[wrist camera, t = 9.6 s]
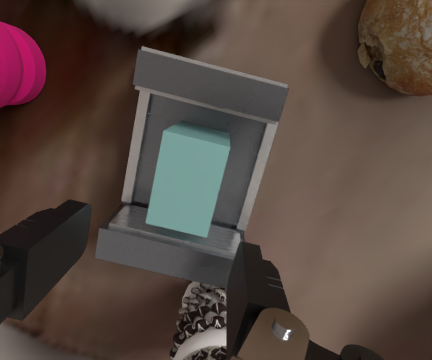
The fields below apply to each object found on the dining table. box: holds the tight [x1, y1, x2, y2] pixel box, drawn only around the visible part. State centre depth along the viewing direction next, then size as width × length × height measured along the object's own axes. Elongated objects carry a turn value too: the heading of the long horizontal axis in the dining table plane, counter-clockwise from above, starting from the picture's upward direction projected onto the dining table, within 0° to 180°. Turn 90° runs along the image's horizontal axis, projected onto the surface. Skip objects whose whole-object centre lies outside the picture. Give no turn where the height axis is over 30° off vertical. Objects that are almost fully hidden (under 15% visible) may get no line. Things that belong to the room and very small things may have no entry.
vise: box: [95, 91, 278, 289], centre depth 23 cm, size 15×11×6 cm
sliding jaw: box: [133, 46, 289, 125], centre depth 20 cm, size 2×9×6 cm, turn 76°
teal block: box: [146, 121, 230, 238], centre depth 21 cm, size 6×4×7 cm, turn 166°
